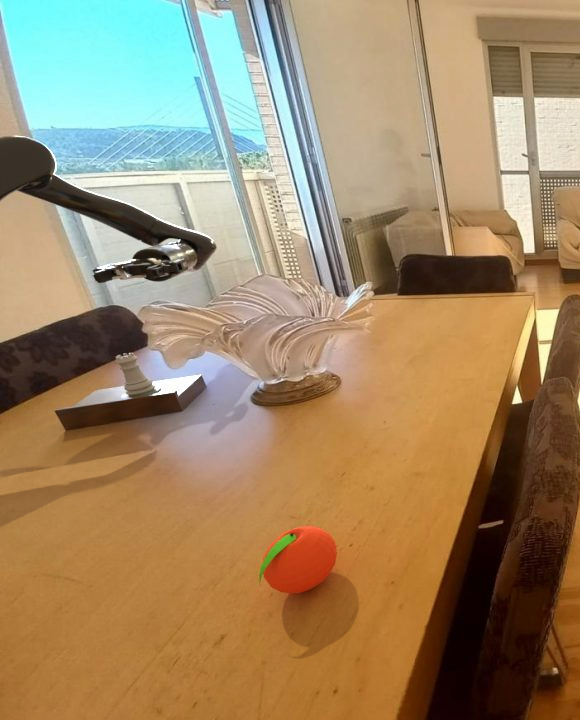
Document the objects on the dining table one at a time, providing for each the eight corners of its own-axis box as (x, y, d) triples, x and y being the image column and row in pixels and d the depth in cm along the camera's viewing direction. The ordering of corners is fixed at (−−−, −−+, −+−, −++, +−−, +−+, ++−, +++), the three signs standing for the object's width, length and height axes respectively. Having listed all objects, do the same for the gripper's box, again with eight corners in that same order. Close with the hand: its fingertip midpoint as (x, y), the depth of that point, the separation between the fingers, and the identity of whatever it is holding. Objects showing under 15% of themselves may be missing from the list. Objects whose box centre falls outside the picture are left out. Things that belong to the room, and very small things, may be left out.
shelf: (65, 430, 89) (53, 410, 87) (103, 402, 99) (93, 384, 97) (182, 411, 94) (174, 392, 93) (206, 386, 105) (199, 369, 103)
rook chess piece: (120, 395, 94) (102, 358, 91) (146, 385, 98) (129, 350, 95) (137, 397, 93) (119, 360, 90) (162, 387, 97) (145, 351, 94)
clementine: (299, 623, 49) (277, 572, 46) (248, 609, 51) (225, 559, 48) (357, 564, 56) (341, 517, 53) (311, 553, 58) (294, 507, 55)
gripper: (117, 248, 107) (70, 260, 93) (193, 243, 112) (159, 254, 98) (131, 281, 110) (88, 297, 96) (205, 274, 115) (174, 289, 101)
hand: (124, 275), depth 97 cm, fingers open, 8 cm apart
